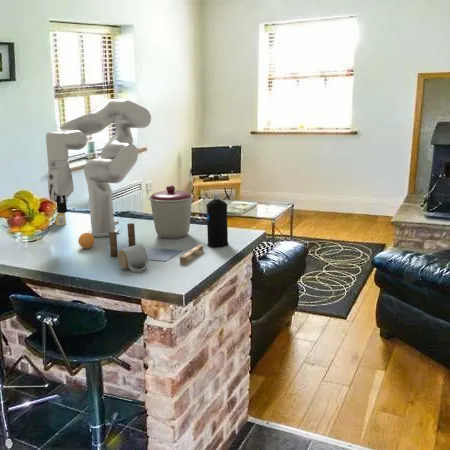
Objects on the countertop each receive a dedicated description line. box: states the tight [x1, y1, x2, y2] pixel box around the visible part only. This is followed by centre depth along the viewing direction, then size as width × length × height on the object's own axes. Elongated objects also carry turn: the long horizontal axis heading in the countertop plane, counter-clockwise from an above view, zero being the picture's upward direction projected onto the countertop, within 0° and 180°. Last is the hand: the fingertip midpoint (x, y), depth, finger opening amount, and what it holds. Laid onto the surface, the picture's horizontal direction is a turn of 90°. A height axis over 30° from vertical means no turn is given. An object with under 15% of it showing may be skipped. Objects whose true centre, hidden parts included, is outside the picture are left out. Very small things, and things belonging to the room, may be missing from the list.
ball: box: [78, 232, 95, 249], centre depth 215 cm, size 6×6×6 cm
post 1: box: [108, 232, 119, 258], centre depth 203 cm, size 3×3×9 cm
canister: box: [148, 184, 194, 240], centre depth 228 cm, size 18×18×21 cm
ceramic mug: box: [117, 243, 148, 274], centre depth 189 cm, size 11×8×8 cm
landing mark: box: [145, 246, 183, 262], centre depth 205 cm, size 14×14×1 cm
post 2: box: [127, 222, 137, 247], centre depth 215 cm, size 3×3×9 cm
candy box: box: [48, 193, 67, 227], centre depth 254 cm, size 9×4×15 cm, turn 33°
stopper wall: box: [179, 244, 204, 265], centre depth 200 cm, size 16×2×2 cm, turn 160°
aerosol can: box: [205, 193, 229, 249], centre depth 213 cm, size 8×8×20 cm
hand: (62, 212), depth 215 cm, fingers closed
